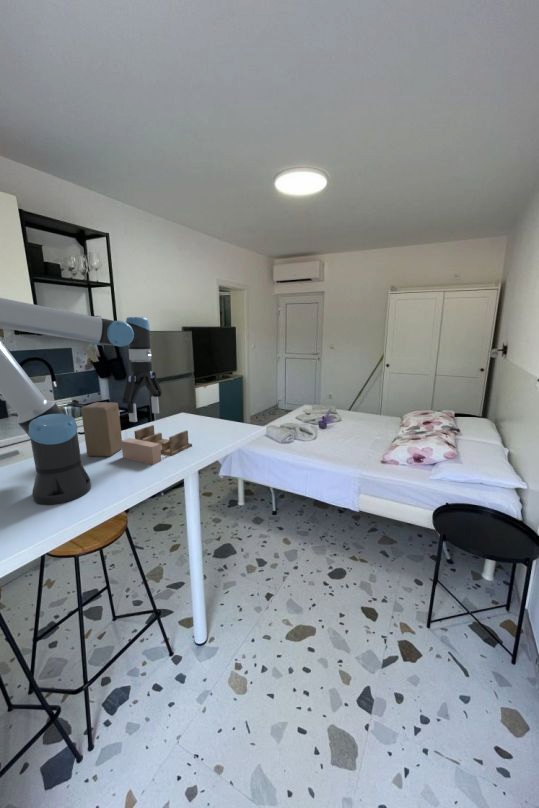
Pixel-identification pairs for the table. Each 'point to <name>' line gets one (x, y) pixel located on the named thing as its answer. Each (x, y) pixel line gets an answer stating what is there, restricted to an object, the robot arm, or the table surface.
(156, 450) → the pinkish tan block
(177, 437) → the rack
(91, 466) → the table surface
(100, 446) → the wooden block
